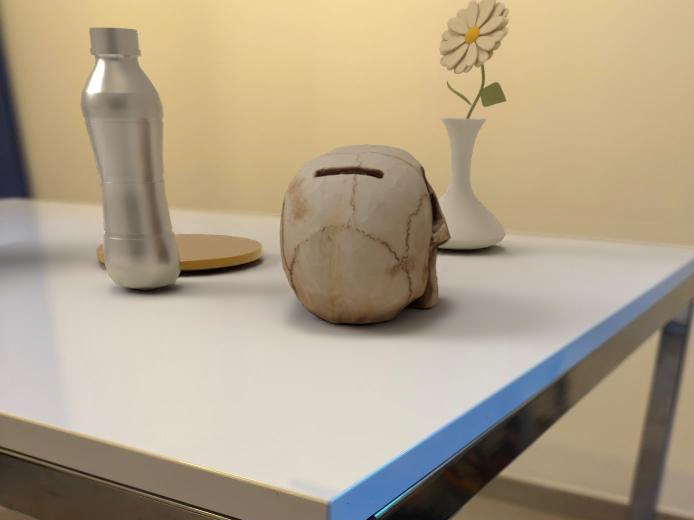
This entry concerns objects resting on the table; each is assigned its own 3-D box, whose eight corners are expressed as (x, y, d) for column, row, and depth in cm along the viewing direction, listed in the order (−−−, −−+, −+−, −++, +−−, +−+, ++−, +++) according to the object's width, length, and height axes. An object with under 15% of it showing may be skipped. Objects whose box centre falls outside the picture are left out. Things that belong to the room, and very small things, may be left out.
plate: (65, 271, 77) (63, 255, 76) (143, 244, 91) (141, 231, 91) (230, 280, 74) (229, 264, 73) (282, 251, 89) (282, 237, 88)
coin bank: (400, 276, 76) (407, 125, 68) (494, 340, 63) (515, 162, 55) (244, 295, 70) (232, 131, 63) (313, 369, 57) (308, 175, 50)
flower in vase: (392, 242, 95) (397, 0, 84) (472, 238, 100) (488, 6, 88) (444, 261, 85) (458, -13, 73) (531, 255, 89) (557, -5, 78)
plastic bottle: (153, 299, 67) (119, 25, 57) (91, 291, 69) (49, 26, 60) (198, 285, 72) (174, 31, 63) (139, 278, 74) (107, 33, 65)
